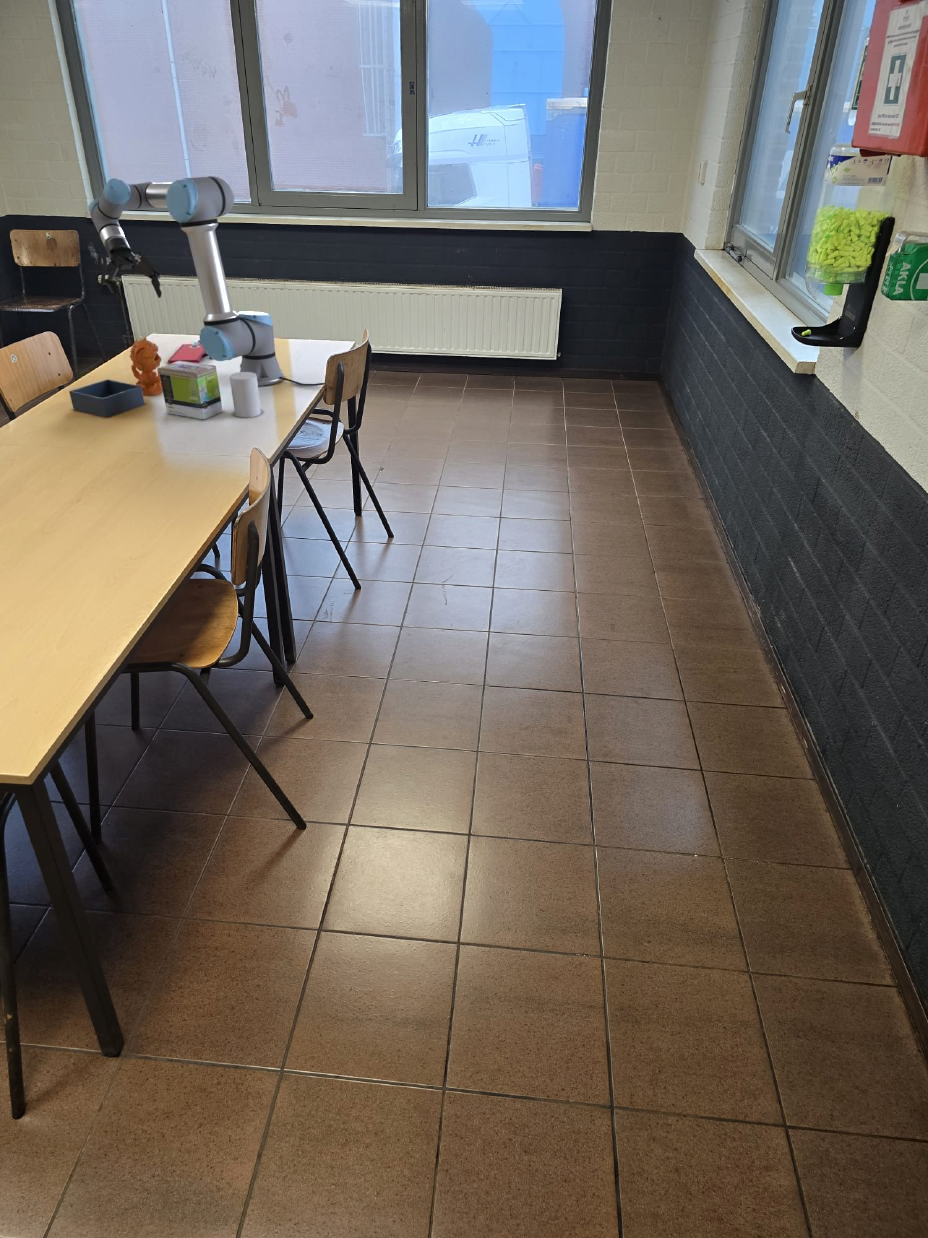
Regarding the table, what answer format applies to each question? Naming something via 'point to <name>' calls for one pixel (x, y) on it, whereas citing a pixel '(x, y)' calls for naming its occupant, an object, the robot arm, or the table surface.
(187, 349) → the red board with handle
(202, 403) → the tea box
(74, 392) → the crate
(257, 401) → the cup
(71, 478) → the table surface
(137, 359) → the orange monster figurine
